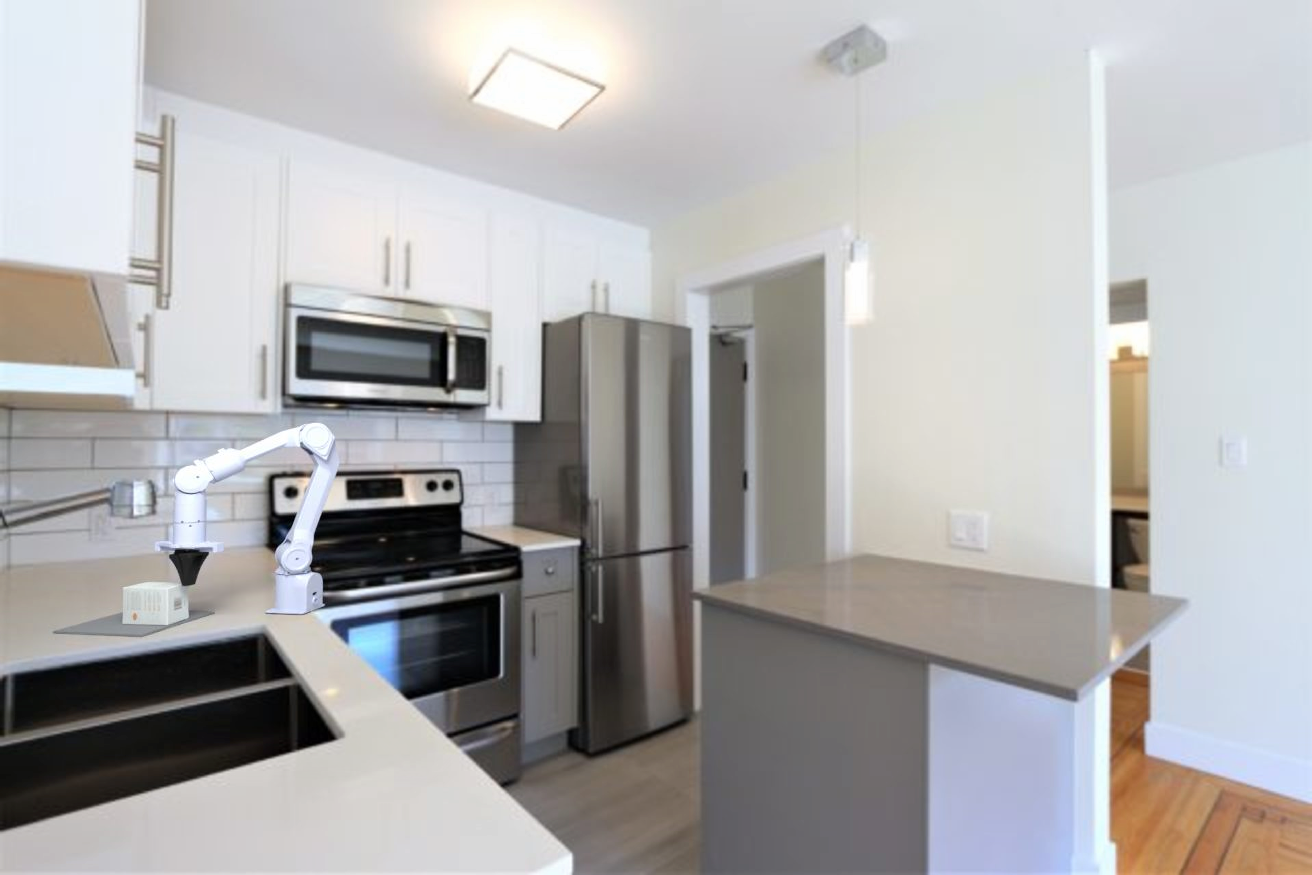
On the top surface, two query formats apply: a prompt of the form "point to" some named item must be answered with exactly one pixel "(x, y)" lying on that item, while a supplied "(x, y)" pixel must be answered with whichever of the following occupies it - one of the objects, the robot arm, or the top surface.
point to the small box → (155, 603)
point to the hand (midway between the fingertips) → (188, 585)
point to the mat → (123, 626)
